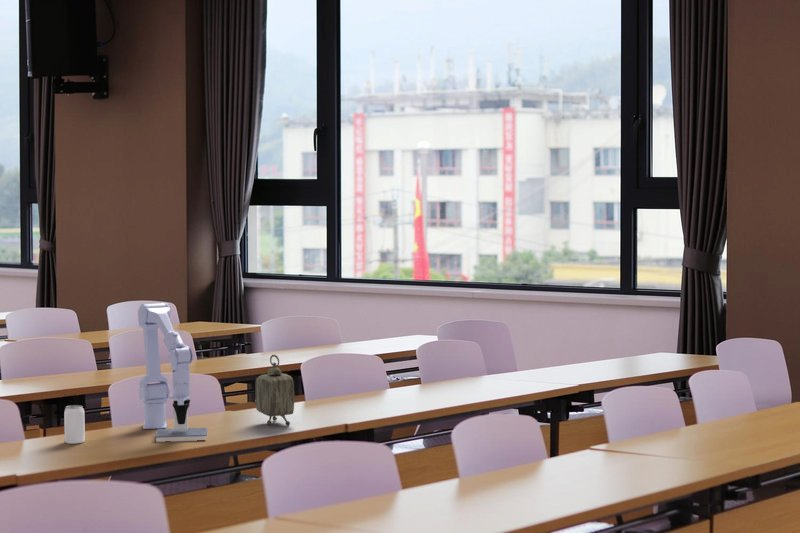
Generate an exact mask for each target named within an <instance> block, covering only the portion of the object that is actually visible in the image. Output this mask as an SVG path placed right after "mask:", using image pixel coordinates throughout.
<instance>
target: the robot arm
mask: <svg viewBox="0 0 800 533" xmlns="http://www.w3.org/2000/svg"><path fill="white" fill-rule="evenodd" d="M137 316H138V318H137V319H138V327H140V328H142V331H143V343H144V344H143V346H144V356H145V369H146V374H145V376H143V377H142V378H141V379H140V380H139V383H138V385H139V388H138V396H139V399H140V400H141V402H142V403H143V404H144V407H143V409H144V410H143V411H144V413H143V415H144V423H143V426H142V429H143V430H146V429H147V430H149V429H153V430H154V429H167V425H168V421H166V402H167V401H168V399H172V400H173V401H172V402H173V403H172V407H173V410H174V409H175V412H176V416H177V421H178V424H185V420H186V413H187V409H188V410H189V407H190V402H191V397H192V396H191V383H190V380H191V379H190V378H191V377H190V374H191V372H190V368H191V367H190V366H191V365H190V364H191V363H192V362H193V357H194V356H193V351H192V348H191V347H190V346H188V345H187V344H185V343H184V341H183V339H182V337H181V334H179V333H180V332H179V333H178V331H175V330H174V327H173V325H172V322H171V320H170V317H171V308H170V305H169V304H168V303H167V302H158V303H157V302H156V303H141V304H140V305H139V307H138V310H137ZM159 329H160V331H161V333H162V334H163V336H164V337H163V340H162V341H163V343H164V344H165V346H166V349H167V351H168V353H169V354H168V355H169V356H168V359H169V360H168V361H169V363H170V369H171V371H172V395H171V388H170V385H169V380H168V378H167V376H164V375H163V374H162V371H161V358H160V346H159V345H160V344H159V334H158V330H159Z"/></svg>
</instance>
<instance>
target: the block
mask: <svg viewBox="0 0 800 533" xmlns="http://www.w3.org/2000/svg"><path fill="white" fill-rule="evenodd" d="M188 410H189V408H188V409H187V413H186V420H185V424H178V421H177V416H176V412H175V409H174V408H173V429H188V428H189V419H188V418H189V416H188V413H189V412H188Z"/></svg>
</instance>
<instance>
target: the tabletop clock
mask: <svg viewBox="0 0 800 533" xmlns="http://www.w3.org/2000/svg"><path fill="white" fill-rule="evenodd" d="M273 357H274V358H276V360H277V363H276V362H272V359H273ZM269 362H270V365H271V366H272V367H270V368H269V369H268V371H267V374H261V375H259V376H257V378H255V384H254V386H255V388H254V392H255V393H254V397H255V399H254V400H255V408H256V411H257V412H259V413H261V414H263V415H266V416H267V417H268V418H269V419H268V420H267V422H266V424H267V425H268V426H271V425H272V424H273V423H272V421H274V422H275V421H277V420H278V418H277V417H279V416H280V417H281V418H283V420H284V422H285V423H284V424H285V426H288V427H289V426H290V425H291V423H290V421H288V420H287V418H286V416H288V415H290V416H291V415H293V414H294V411H295V383H294V379H293V377H292V376H291V375H288V374H287V373H282V370H281V369H280V368H279V366H280V359H279V356H277V355H276V354H271V356H270V358H269Z"/></svg>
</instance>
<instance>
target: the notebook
mask: <svg viewBox="0 0 800 533" xmlns="http://www.w3.org/2000/svg"><path fill="white" fill-rule="evenodd" d="M156 429H157V430H156V432H155V435H154V439H155V443H162V442H164V443H165V441H171V442H198V441H197V440H205V441H207V435H208V427H190V428H189V427H188V429H174V428H156Z"/></svg>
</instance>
